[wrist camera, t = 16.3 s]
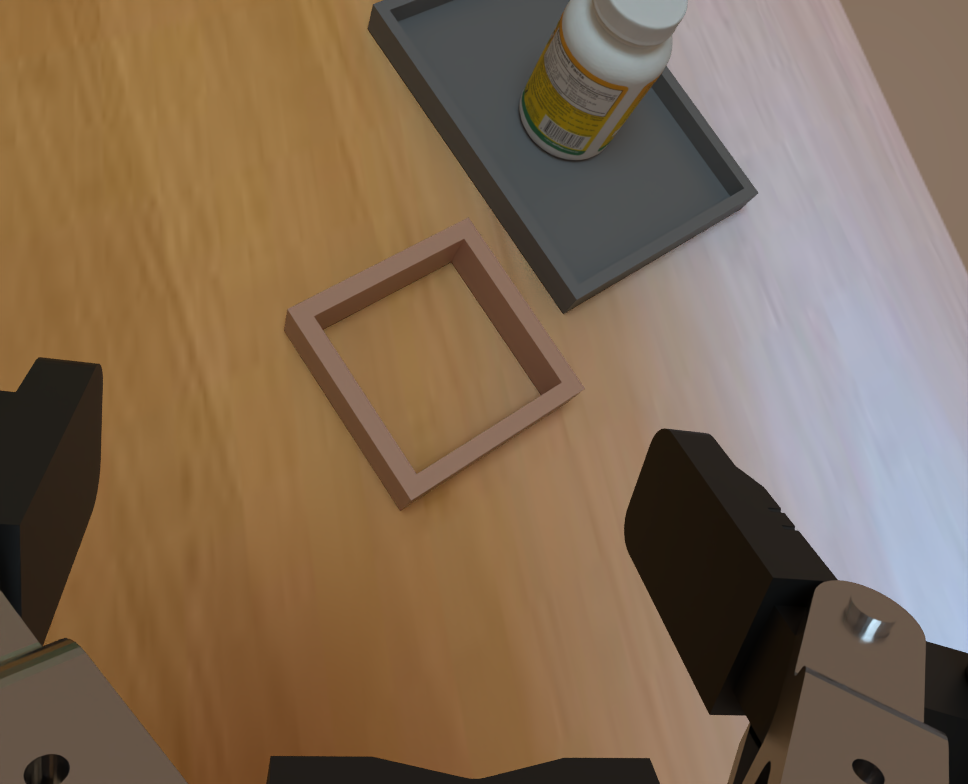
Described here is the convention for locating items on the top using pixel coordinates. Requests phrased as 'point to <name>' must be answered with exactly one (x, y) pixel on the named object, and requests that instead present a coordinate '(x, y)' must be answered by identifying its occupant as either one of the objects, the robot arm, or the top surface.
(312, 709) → the top surface
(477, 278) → the frame
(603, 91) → the supplement bottle
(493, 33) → the tray
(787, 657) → the robot arm
